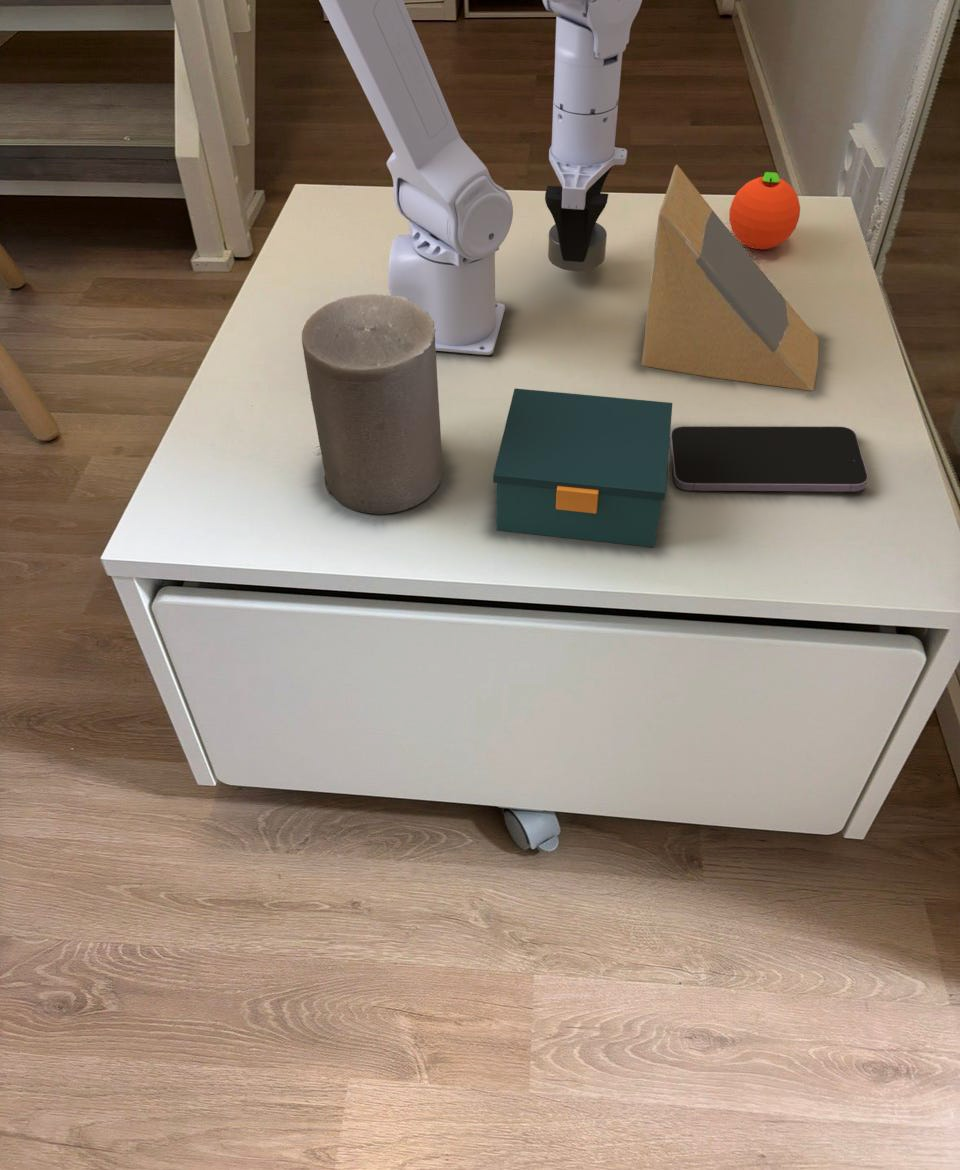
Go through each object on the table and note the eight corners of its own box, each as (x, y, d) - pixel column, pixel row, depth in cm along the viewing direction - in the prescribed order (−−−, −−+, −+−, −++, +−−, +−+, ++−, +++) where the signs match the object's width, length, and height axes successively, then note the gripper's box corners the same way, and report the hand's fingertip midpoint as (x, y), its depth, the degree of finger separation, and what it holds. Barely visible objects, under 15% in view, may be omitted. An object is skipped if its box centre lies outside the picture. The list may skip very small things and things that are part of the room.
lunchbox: (492, 535, 78) (492, 478, 74) (514, 441, 86) (515, 385, 81) (656, 553, 77) (665, 496, 72) (664, 456, 84) (672, 399, 80)
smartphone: (669, 425, 85) (854, 425, 84) (668, 435, 86) (851, 436, 85) (675, 484, 81) (870, 485, 79) (673, 494, 81) (867, 496, 80)
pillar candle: (304, 499, 81) (272, 339, 70) (356, 425, 87) (334, 267, 76) (417, 527, 79) (402, 366, 68) (462, 449, 85) (455, 289, 74)
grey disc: (544, 269, 100) (545, 245, 98) (551, 239, 103) (552, 216, 101) (602, 273, 99) (604, 250, 97) (607, 244, 103) (609, 220, 101)
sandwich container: (814, 393, 89) (858, 234, 78) (640, 367, 92) (658, 210, 81) (820, 337, 95) (862, 181, 84) (655, 315, 98) (674, 161, 87)
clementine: (726, 220, 109) (737, 154, 104) (792, 225, 108) (807, 160, 103) (722, 259, 104) (734, 192, 99) (792, 265, 103) (807, 198, 98)
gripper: (624, 140, 85) (611, 286, 95) (637, 70, 94) (624, 210, 104) (540, 135, 86) (536, 280, 96) (561, 66, 95) (555, 205, 105)
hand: (577, 243), depth 100 cm, fingers closed on grey disc, 5 cm apart
